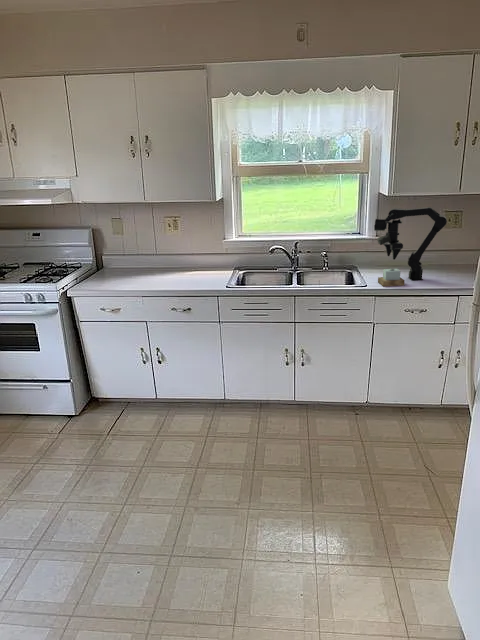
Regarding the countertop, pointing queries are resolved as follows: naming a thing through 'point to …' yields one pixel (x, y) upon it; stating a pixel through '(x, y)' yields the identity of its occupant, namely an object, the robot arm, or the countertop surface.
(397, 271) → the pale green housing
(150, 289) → the countertop surface
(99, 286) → the countertop surface
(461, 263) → the countertop surface
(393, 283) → the walnut stand
